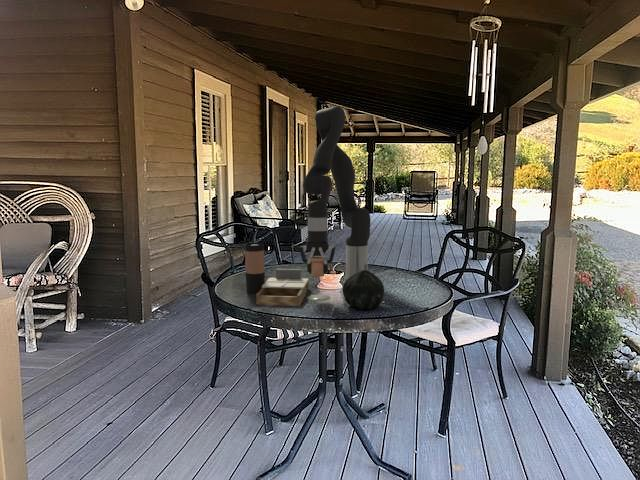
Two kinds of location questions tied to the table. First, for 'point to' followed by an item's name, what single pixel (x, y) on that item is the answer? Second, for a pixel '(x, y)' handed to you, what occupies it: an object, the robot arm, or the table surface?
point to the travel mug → (254, 267)
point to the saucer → (318, 297)
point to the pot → (317, 266)
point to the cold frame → (281, 296)
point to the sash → (286, 279)
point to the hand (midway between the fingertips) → (317, 273)
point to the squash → (363, 290)
